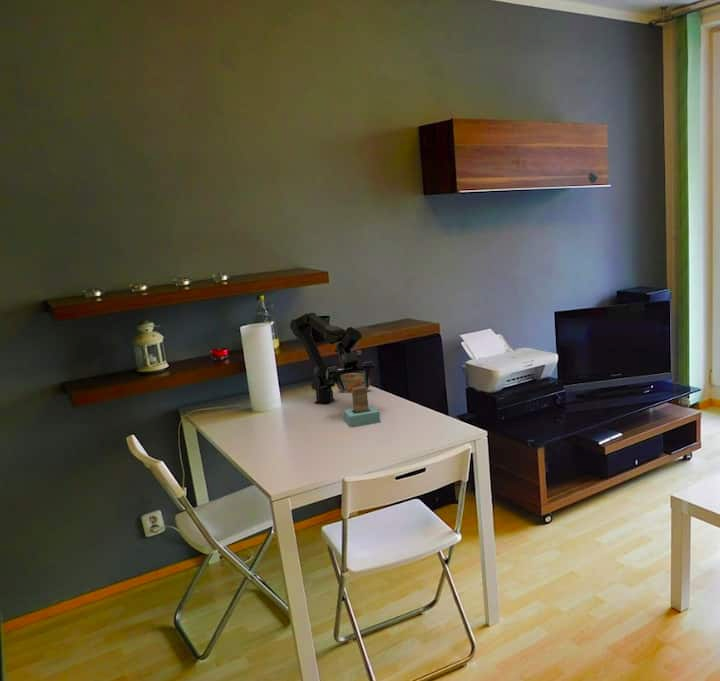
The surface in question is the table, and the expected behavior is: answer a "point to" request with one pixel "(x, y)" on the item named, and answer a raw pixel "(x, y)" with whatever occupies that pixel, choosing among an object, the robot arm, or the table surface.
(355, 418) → the rectangular frame
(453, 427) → the table surface
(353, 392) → the slat
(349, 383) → the tin
